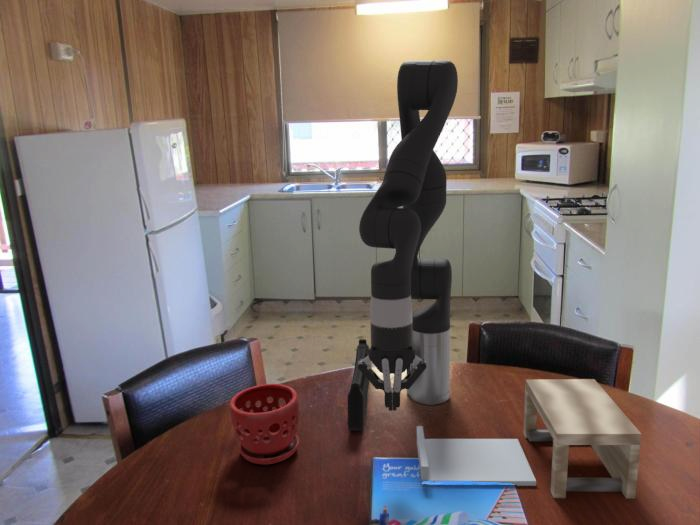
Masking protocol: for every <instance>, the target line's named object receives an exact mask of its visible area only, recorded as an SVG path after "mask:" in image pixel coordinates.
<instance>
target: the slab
mask: <svg viewBox="0 0 700 525" xmlns="http://www.w3.org/2000/svg"><path fill="white" fill-rule="evenodd" d="M416 449H417V456H418V458H419V459H418V464H419V465H420V467H419V474H420V473H421V476H420V482H421V481H422V482H423V481H433V482H435V481H453V482H454V481H472V482H473V481H475V482H477V481H478V482H497V483H498V482H500V483H510V484H511V483H512V484H515V485H517V486H516V487H520V486H522V487H523V486H525V487H529V486H530V487H531V486H532V487H536V486H537V480H536V477H535V475H534V473H533V470H532V468H531V466H530V463H529V462H528V459H527V456H526V454H525V452H524V450H523V447H522V446H521V443H520V441H519V439H518V438H425V432H424V426H423V425H416Z"/></svg>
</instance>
